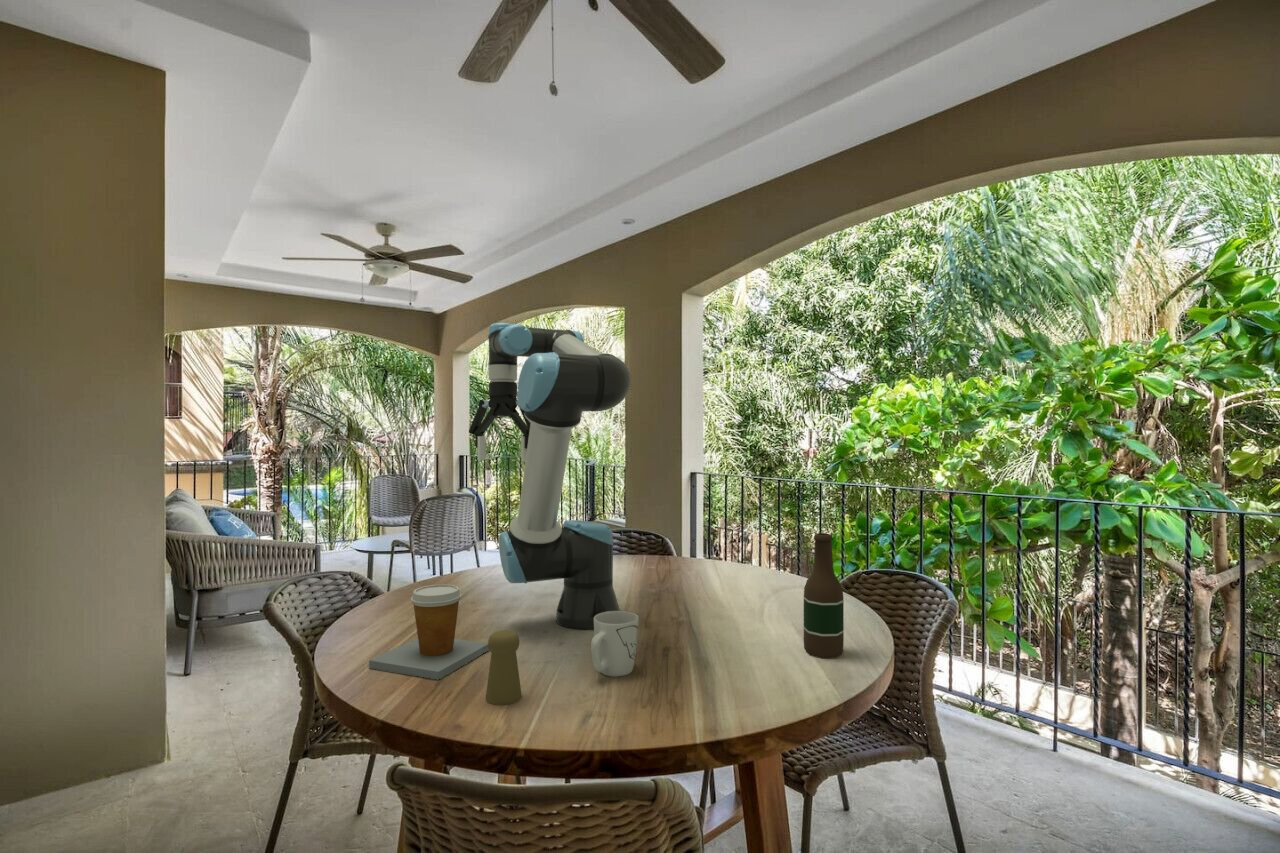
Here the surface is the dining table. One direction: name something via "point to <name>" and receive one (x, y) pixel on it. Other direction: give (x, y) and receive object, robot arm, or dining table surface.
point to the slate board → (428, 659)
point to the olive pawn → (503, 669)
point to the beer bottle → (823, 604)
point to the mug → (614, 642)
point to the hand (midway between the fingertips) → (503, 460)
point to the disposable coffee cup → (436, 618)
